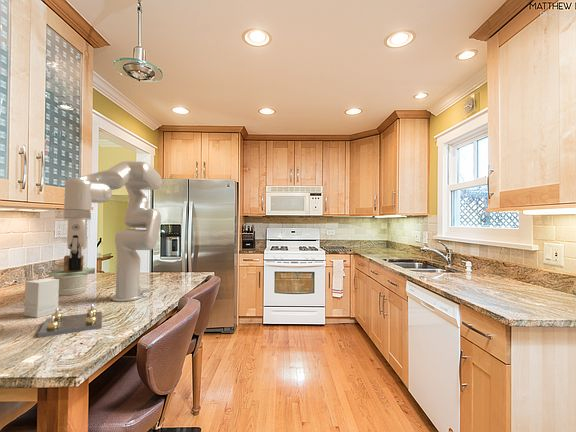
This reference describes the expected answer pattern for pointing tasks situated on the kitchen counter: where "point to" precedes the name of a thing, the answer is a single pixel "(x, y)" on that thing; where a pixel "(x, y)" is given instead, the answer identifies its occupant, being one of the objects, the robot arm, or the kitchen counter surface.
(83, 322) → the standoff base
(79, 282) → the jar
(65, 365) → the kitchen counter surface
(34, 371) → the kitchen counter surface
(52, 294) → the supplement box
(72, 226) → the robot arm
